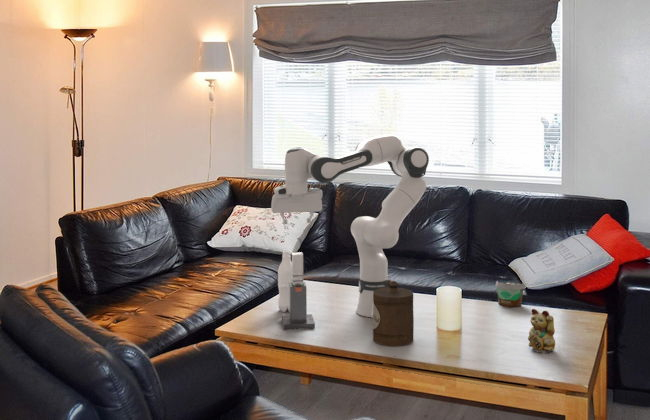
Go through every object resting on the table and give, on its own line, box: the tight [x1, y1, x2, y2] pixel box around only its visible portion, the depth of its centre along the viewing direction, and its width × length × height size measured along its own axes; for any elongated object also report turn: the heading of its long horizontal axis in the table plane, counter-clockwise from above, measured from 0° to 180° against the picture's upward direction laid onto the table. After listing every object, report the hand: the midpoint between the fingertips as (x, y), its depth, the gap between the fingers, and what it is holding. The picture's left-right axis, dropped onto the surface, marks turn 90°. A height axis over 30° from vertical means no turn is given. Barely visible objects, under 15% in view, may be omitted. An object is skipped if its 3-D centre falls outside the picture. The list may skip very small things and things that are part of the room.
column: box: [291, 251, 304, 286], centre depth 306 cm, size 4×4×20 cm
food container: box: [495, 280, 526, 309], centre depth 332 cm, size 12×6×10 cm, turn 68°
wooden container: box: [372, 280, 415, 347], centre depth 288 cm, size 15×15×22 cm
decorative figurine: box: [527, 308, 556, 354], centre depth 278 cm, size 10×8×15 cm
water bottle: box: [277, 250, 292, 313], centre depth 325 cm, size 7×7×25 cm
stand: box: [281, 281, 316, 331], centre depth 307 cm, size 12×12×17 cm
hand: (297, 223), depth 314 cm, fingers open, 8 cm apart
